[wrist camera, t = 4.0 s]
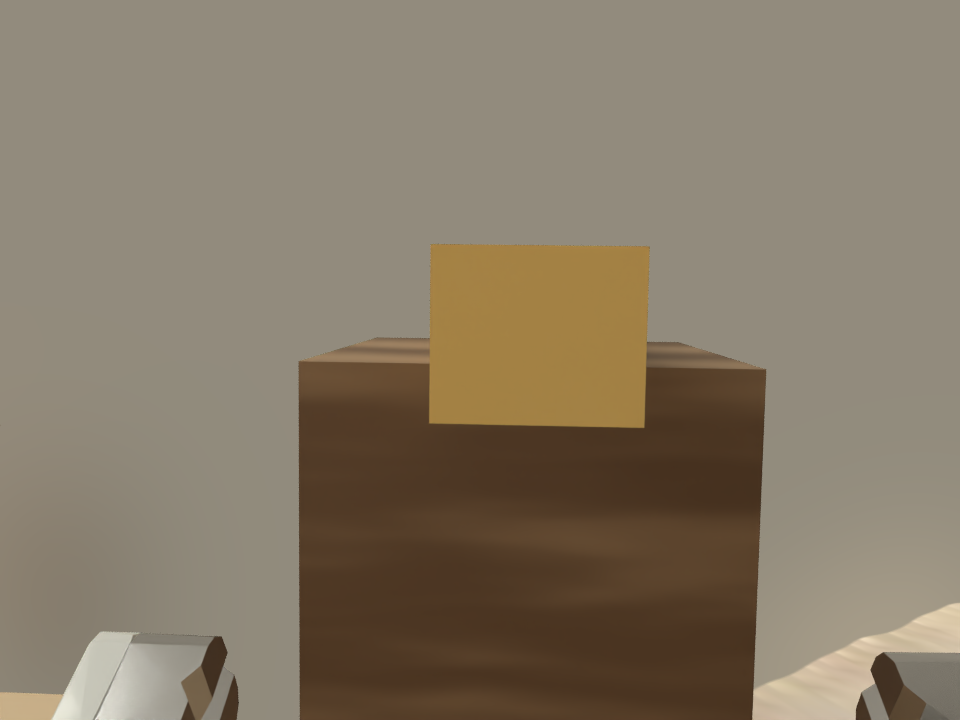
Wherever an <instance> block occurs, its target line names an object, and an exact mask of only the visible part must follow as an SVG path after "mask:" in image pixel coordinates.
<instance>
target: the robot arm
mask: <svg viewBox="0 0 960 720" xmlns="http://www.w3.org/2000/svg"><path fill="white" fill-rule="evenodd" d="M226 656H227V650H226V647H225V644H224V642H223V639H222V637H220V636H219V637H218V636H197V635H173V634H150V633H149V634H148V633H132V632H131V633H130V632H100V633H99V634H98V635H97V636H96V637H95V638H94V639H93V640H92V642H91V643H90V644H89V645H88V647H87V649H86V651H85V653H84V655H83V657H82V659H81V661H80V663H79V665H78V667H77V669H76V671H75V673H74V675H73V677H72V679H71V681H70V683H69V685H68V687H67V689H66V691H65V693H64V695H63V697H62V699H61V701H60V703H59V705H58V707H57V709H56V711H55V713H54V715H53V717H52V719H51V720H236V719H237V711H238V703H239V702H238V687H237V683H236V679H235V676H234V674H233V673H231V672H230V671H229V670H227V669H226V668H225V667H223V665H224V662H225V659H226ZM871 673H872V675H873V678H874V681H875V684H874V685H872V686H871V687H869V688H867V689H866V690H864V691H863V692H862V693H861V696H860V699H859V702H858V705H857V708H856V720H960V653H908V652H883V653H881V654H880V655H878V656H877V657H876V658H875V661H874V663H873V665H872V668H871Z"/></svg>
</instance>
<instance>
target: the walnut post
mask: <svg viewBox="0 0 960 720" xmlns="http://www.w3.org/2000/svg"><path fill="white" fill-rule="evenodd" d="M429 386H430V338H428V339H427V338H374V339H371V340H367V341H364V342H361V343H358V344H354V345H351V346H348V347H345V348H341V349H338V350H334V351H331V352H328V353H325V354H321V355H318V356H315V357H312V358H308V359H305V360H302V361H299V586H300V589H299V592H300V593H299V596H300V598H299V600H300V601H299V602H300V603H299V607H300V720H752V710H753V684H754V660H755V635H756V611H757V586H758V585H757V584H758V560H759V559H758V558H759V536H760V511H761V486H762V461H763V435H764V411H765V386H766V369H763V368H760V367H756V366H753V365H750V364H747V363H744V362H740V361H737V360H734V359H731V358H727V357H724V356H721V355H718V354H714V353H711V352H708V351H705V350H701V349H698V348H695V347H692V346H689V345H685V344H682V343H678V342H647V353H646V387H645V422H644V428H626V427H578V426H530V425H482V424H435V423H429Z"/></svg>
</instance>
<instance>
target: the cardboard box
mask: <svg viewBox="0 0 960 720" xmlns="http://www.w3.org/2000/svg"><path fill="white" fill-rule="evenodd" d="M62 697H63V695H59V694H32V693H5V692H0V720H51V719H52V717H53V715H54V713H55V711H56V709H57V707H58V705H59V703H60V701H61V699H62Z"/></svg>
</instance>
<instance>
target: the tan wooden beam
mask: <svg viewBox="0 0 960 720" xmlns="http://www.w3.org/2000/svg"><path fill="white" fill-rule="evenodd" d="M649 249H650V247H646V246H642V247H641V246H555V245H460V244H431V272H430V273H431V277H430V283H431V284H430V386H429V423H435V424H482V425H530V426H578V427H626V428H644V422H645V387H646V353H647V317H648V281H649Z"/></svg>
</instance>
